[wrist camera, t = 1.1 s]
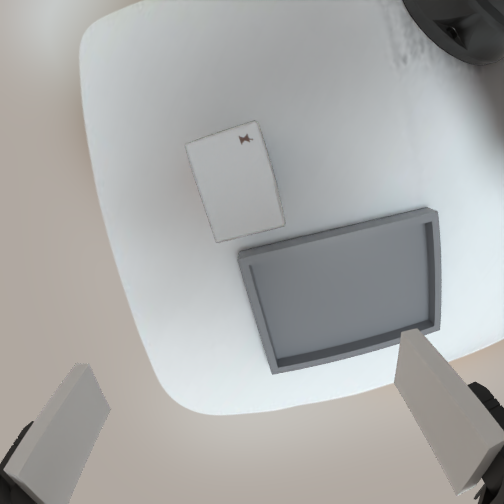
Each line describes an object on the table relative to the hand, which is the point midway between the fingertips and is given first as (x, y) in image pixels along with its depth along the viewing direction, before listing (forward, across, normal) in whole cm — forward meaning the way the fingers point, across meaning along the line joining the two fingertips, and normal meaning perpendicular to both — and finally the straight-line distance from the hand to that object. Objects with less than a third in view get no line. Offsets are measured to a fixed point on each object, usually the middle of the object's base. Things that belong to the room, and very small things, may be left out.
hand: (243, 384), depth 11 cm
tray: (+19, +10, -5) cm, 22 cm away
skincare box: (+19, +1, +8) cm, 21 cm away
